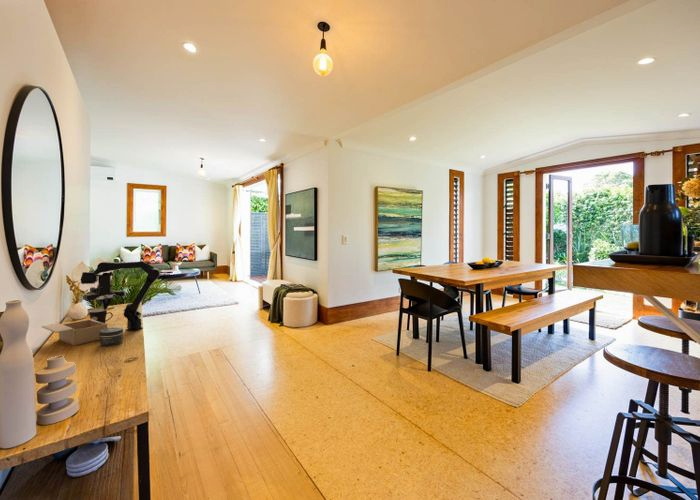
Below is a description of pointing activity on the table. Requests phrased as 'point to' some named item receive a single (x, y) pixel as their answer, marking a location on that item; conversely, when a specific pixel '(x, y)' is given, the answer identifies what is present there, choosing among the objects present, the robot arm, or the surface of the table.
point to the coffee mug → (99, 315)
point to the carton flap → (57, 327)
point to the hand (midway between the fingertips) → (104, 309)
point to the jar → (111, 336)
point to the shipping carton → (82, 332)
